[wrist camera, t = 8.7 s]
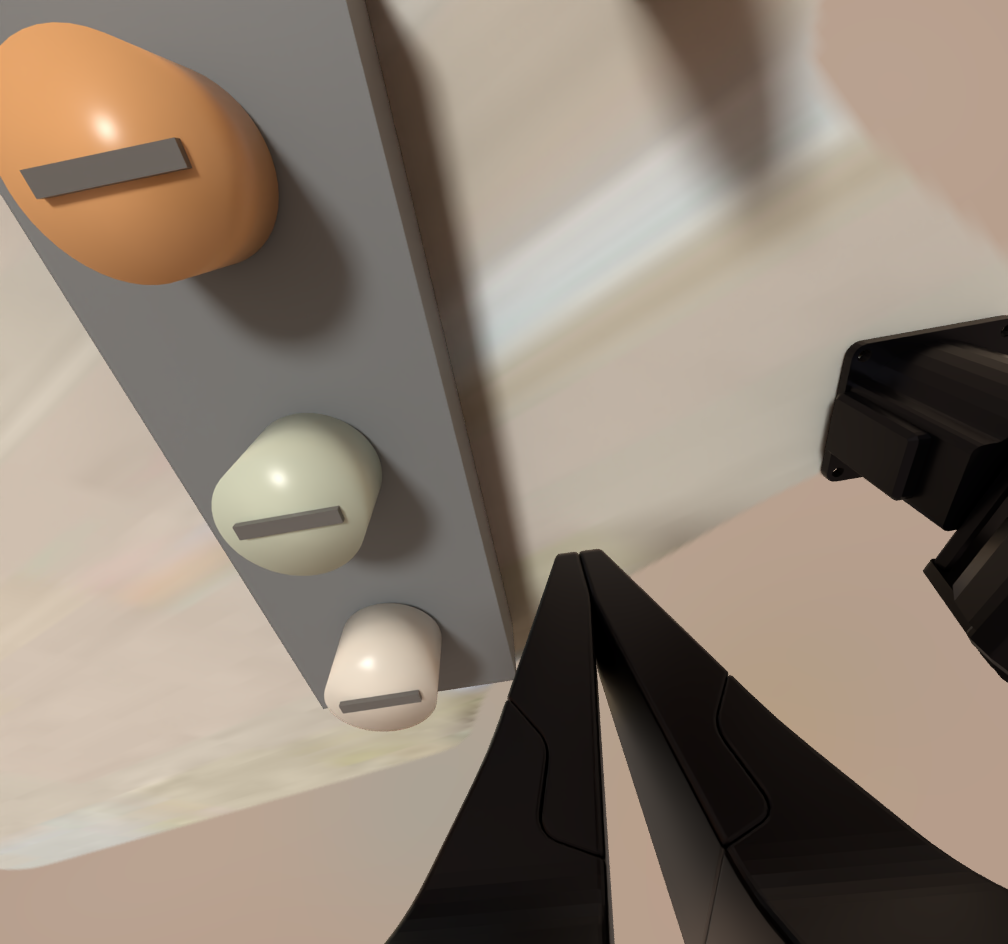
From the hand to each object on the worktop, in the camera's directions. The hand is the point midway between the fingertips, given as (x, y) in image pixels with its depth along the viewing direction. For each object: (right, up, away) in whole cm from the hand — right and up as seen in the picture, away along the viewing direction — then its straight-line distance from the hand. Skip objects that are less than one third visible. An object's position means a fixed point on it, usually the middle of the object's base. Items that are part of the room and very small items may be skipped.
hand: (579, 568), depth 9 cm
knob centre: (-8, +4, +11) cm, 14 cm away
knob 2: (-7, -4, +15) cm, 17 cm away
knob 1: (-10, +11, +6) cm, 16 cm away
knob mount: (-8, +4, +11) cm, 14 cm away
